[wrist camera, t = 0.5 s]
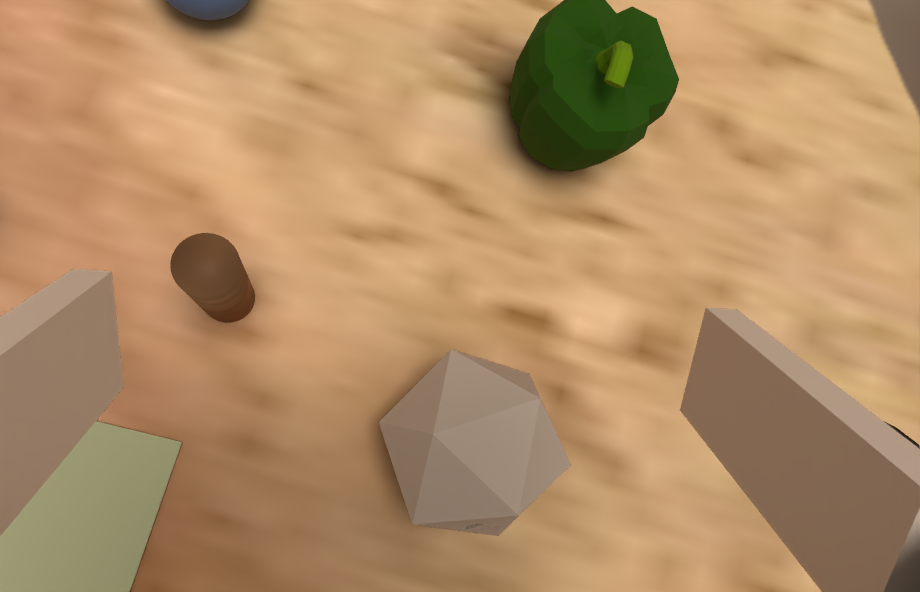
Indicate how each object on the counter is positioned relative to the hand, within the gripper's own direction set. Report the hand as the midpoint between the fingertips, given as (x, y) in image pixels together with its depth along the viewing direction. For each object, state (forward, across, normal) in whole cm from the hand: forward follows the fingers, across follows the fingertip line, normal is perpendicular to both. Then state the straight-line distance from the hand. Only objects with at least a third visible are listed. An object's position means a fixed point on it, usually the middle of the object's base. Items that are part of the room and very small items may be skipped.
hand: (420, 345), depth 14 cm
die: (+16, -3, +13) cm, 22 cm away
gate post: (+19, +9, +7) cm, 22 cm away
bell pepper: (+27, -9, -3) cm, 29 cm away
